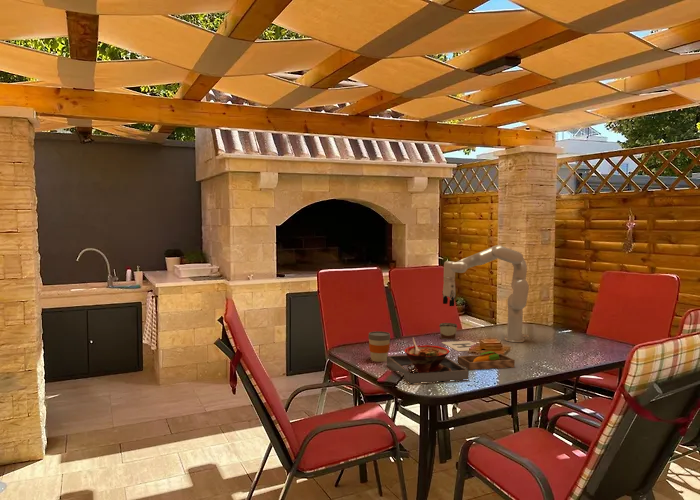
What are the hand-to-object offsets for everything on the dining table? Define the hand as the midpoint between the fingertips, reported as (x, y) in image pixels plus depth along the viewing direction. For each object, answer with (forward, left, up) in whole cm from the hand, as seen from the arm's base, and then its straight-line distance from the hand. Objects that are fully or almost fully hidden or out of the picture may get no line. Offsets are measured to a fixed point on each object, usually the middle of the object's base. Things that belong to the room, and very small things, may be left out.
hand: (448, 304), depth 362 cm
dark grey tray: (+46, +73, -23) cm, 90 cm away
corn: (+9, +68, -23) cm, 72 cm away
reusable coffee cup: (+62, +43, -23) cm, 79 cm away
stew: (+46, +72, -23) cm, 89 cm away
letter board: (-1, +23, -23) cm, 32 cm away
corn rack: (+8, +67, -23) cm, 71 cm away
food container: (-1, -1, -23) cm, 23 cm away
